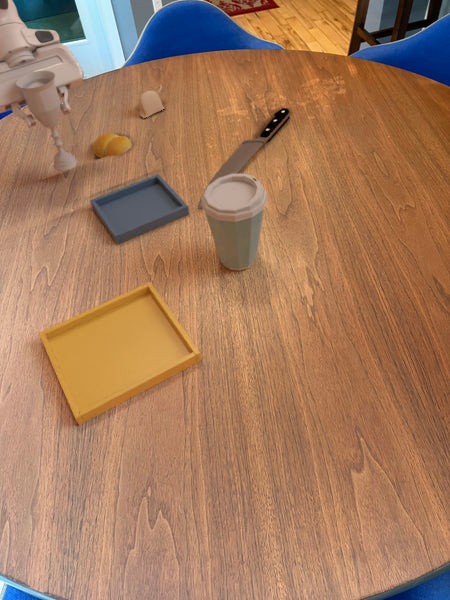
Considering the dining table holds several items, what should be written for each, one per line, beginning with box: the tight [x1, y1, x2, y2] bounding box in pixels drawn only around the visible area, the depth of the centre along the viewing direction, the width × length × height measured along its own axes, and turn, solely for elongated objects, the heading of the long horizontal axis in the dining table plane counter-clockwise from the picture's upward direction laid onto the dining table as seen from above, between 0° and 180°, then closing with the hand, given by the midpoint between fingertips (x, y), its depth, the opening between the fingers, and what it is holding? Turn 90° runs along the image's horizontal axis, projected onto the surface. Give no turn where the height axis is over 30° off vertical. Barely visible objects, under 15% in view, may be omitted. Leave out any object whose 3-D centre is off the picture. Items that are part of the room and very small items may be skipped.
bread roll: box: [92, 132, 133, 159], centre depth 111 cm, size 8×9×4 cm
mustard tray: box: [38, 281, 202, 426], centre depth 74 cm, size 20×18×2 cm
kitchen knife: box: [198, 107, 291, 210], centre depth 107 cm, size 5×41×2 cm, turn 150°
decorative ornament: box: [137, 84, 165, 119], centre depth 123 cm, size 4×8×5 cm, turn 129°
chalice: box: [16, 71, 78, 172], centre depth 95 cm, size 7×7×18 cm
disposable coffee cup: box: [200, 173, 268, 272], centre depth 81 cm, size 11×11×15 cm
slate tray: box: [89, 173, 190, 245], centre depth 97 cm, size 16×14×2 cm
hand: (50, 119), depth 94 cm, fingers closed on chalice, 6 cm apart
